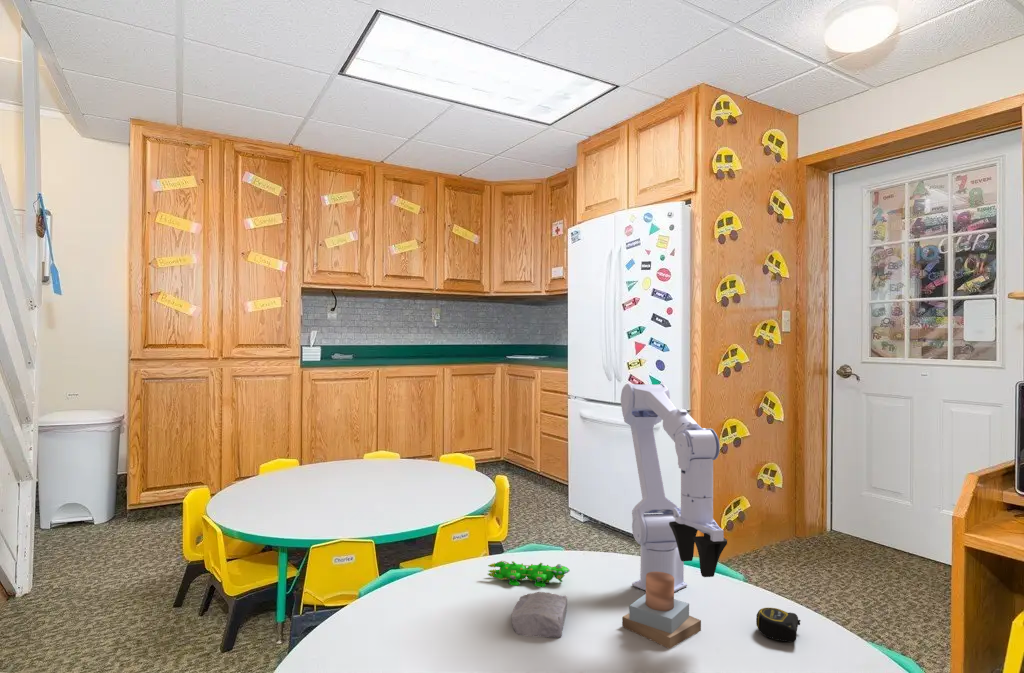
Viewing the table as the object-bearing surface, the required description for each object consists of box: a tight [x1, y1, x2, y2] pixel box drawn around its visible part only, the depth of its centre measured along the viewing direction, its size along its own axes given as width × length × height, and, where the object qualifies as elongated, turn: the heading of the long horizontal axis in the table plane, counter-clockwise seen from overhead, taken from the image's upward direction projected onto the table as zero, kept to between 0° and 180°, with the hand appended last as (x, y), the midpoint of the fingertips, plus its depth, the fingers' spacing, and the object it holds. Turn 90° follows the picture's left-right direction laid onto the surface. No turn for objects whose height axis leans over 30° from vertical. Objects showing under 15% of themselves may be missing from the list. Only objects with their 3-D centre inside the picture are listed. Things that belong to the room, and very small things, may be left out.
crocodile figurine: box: [487, 560, 570, 588], centre depth 122 cm, size 7×18×4 cm, turn 84°
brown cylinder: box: [645, 571, 675, 611], centre depth 102 cm, size 5×5×5 cm
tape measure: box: [755, 607, 801, 643], centre depth 100 cm, size 7×7×4 cm
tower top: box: [628, 593, 690, 634], centre depth 102 cm, size 8×8×2 cm
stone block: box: [511, 591, 568, 639], centre depth 104 cm, size 12×5×10 cm
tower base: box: [621, 613, 702, 649], centre depth 102 cm, size 10×10×2 cm
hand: (696, 568), depth 103 cm, fingers open, 7 cm apart
